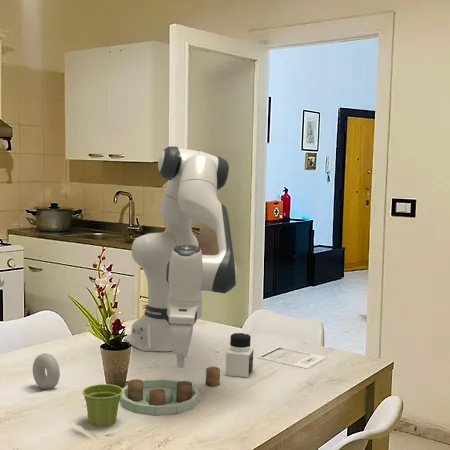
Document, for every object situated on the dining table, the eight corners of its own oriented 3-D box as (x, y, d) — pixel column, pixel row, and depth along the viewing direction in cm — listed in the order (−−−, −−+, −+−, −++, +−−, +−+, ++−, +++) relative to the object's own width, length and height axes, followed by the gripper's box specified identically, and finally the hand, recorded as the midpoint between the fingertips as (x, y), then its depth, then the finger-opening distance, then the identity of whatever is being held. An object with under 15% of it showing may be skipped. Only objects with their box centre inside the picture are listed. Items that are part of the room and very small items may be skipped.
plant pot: (84, 417, 159) (85, 383, 158) (123, 417, 159) (124, 383, 159) (79, 434, 149) (79, 397, 149) (120, 434, 150) (121, 397, 149)
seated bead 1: (124, 398, 169) (124, 381, 169) (136, 394, 172) (137, 378, 171) (133, 402, 166) (133, 385, 166) (146, 399, 169) (146, 382, 169)
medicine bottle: (248, 377, 192) (250, 338, 190) (225, 375, 193) (226, 336, 192) (252, 370, 199) (254, 332, 197) (229, 368, 200) (231, 330, 199)
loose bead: (176, 397, 171) (177, 380, 171) (192, 397, 171) (192, 381, 171) (175, 402, 167) (176, 385, 167) (191, 403, 167) (191, 386, 167)
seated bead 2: (145, 408, 163) (145, 391, 162) (158, 404, 166) (158, 387, 165) (155, 413, 160) (156, 395, 159) (168, 409, 163) (168, 391, 162)
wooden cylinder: (202, 384, 185) (203, 368, 185) (212, 380, 188) (213, 365, 188) (212, 387, 183) (212, 372, 182) (222, 384, 185) (222, 369, 185)
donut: (62, 392, 175) (62, 356, 174) (51, 395, 173) (51, 359, 172) (40, 383, 182) (40, 348, 180) (29, 386, 179) (29, 351, 178)
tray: (105, 402, 169) (105, 390, 169) (164, 385, 183) (165, 374, 183) (153, 426, 155) (153, 413, 155) (213, 405, 169) (214, 393, 169)
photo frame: (307, 367, 201) (257, 356, 211) (307, 371, 201) (257, 359, 211) (327, 356, 213) (278, 346, 223) (326, 359, 213) (278, 349, 223)
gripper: (176, 299, 177) (174, 348, 179) (168, 318, 157) (166, 373, 158) (199, 300, 177) (197, 349, 178) (194, 319, 157) (191, 375, 158)
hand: (182, 361), depth 168 cm, fingers open, 8 cm apart
